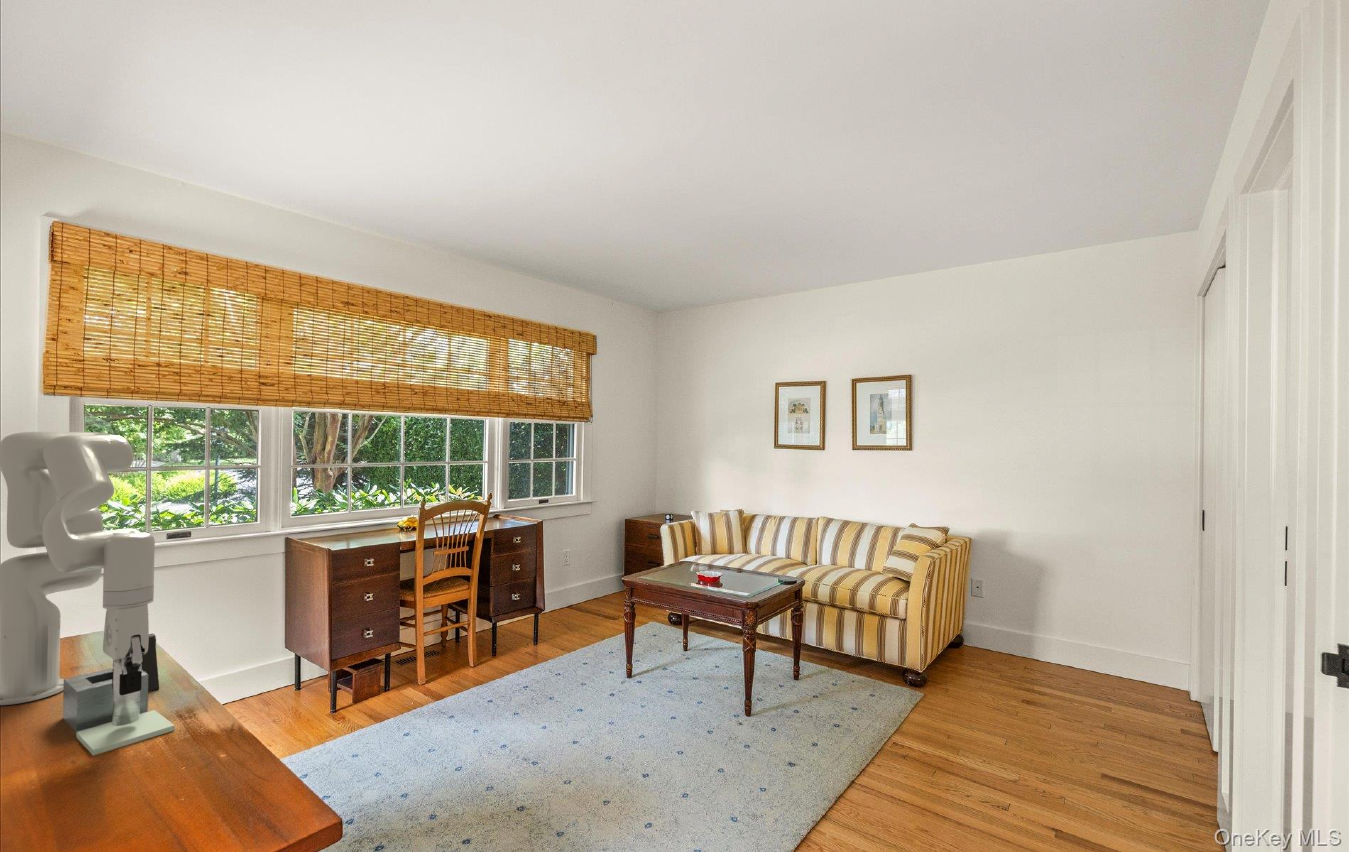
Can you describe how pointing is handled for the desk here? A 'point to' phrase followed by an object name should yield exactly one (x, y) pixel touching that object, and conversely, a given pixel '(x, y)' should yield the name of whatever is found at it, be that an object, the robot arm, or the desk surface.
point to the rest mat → (124, 733)
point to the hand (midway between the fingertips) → (126, 688)
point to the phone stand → (151, 664)
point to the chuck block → (94, 699)
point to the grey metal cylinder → (124, 701)
